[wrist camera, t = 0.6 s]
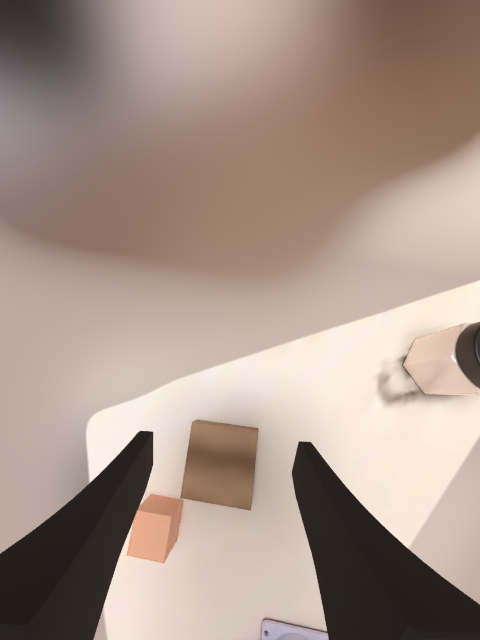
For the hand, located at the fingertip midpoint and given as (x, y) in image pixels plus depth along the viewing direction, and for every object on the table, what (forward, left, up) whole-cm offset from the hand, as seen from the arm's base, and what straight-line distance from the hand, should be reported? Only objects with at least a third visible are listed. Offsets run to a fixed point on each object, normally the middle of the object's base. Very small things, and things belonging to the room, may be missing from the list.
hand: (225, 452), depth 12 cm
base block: (-7, +3, -24) cm, 25 cm away
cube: (-15, +10, -24) cm, 30 cm away
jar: (+9, -26, -25) cm, 37 cm away
